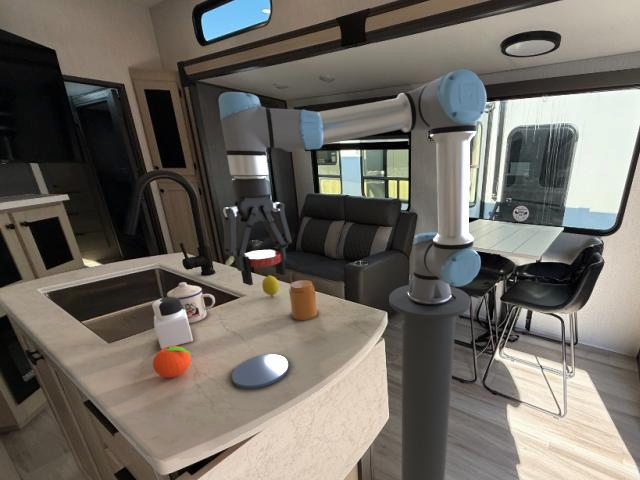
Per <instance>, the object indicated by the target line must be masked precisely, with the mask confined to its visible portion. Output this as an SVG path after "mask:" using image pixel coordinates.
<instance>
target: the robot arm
mask: <svg viewBox="0 0 640 480" xmlns="http://www.w3.org/2000/svg"><path fill="white" fill-rule="evenodd" d="M218 107H219V115H220V118H219V119H220V123H221V131H222V134H223V135H222V136H223V141H224V147H225V151H226V158H227V163H228V170H229V174H230V176H231V177H233V178H232V179H231V181H230V182H231V188H232V193H233V197H234V204H233V206H229V207H221V209H220V212H221V214H222V217H223V226H224V227H223V239H224V240H223V241H224V242H223V248H224V249H223V251H224V254H225V255H227V256H230V257H234V259H235V264H236V269H237V271H239V272H240V273H241V278H242V283H243V284H245V285H248V286H252V285H254V282H253V274H252V269H251V268H252V267H250V262H249V257H248V256H245V254H246V253H247V252H246V251H247V247H248V243H249V239H250V235H251V230H252V228H253V227H254V225H255V223H258V222H261V223H262V224H263V226H264V227H265V229H266V231H267V233H268V235H269V236H270V238H271V240H272V241H273V244H274V245H275V246H274V247H272V250H276V251H279V252H280V255H281V262H280V263H278V264H275V265H274V266H275V273H276V274H278V275H281V276H285V275H286V273H287V272H286V266H285V265H286V264H285V261H286V260H287V253H286V249H288V246H289V245H290V244H292V243H293V241H292V236H291V233H290V229H289V226H288V222H287V218H286V213H285V203H283V202H277V201H275V202H273V200H272V198H271V196H272V187H271V186H272V185H271V180H270V179H269V178H268V176H269V175H270V170H269V164H268V157H267V152H266V151H267V149H266V148H268V149H269V148H270V149H281V150H283V151H284V152H289V153H293V152H297V151H299V150H308V151H309V150H319V149H321V148H322V147H323V146H324V145H328V144H334V143H338V142H343V141H349V140H355V139H358V138H363V137H369V136H374V135H378V134H379V135H380V134H385V133H390V132H394V131H399V130H401V131H402V132H403V133H410V132H414V131H415V132H416V131H429V133H430V134H429V136H430V138H431V140H433V141H434V142H435V146H436V148H435V149H436V152H435V153H436V198H437V199H436V200H437V202H436V203H437V231H433V232H432V231H431V232H420V233H417V234H415V236H414V237H413V245H412V246H413V273H412V274H413V276H412V279H411V282H410V284H409V285H410V288H409V290H408V299H409V300H410V301H411V302H413V303H416V304H419V305H424V306H439V305H444V304H446V303H448V302H450V301H451V296H452V297H453V298H454V299H456V296H454V295H453V294H452V293H451V289H450V286H452V287H456V288H457V287H464V286H466V285H468V284H470V283H472V281H473V280H474V279H475V278H476V277H477V276H478V274H479V272H480V270H481V263H482V260H481V255H479V254H478V252H477V251H476V250H475V249H474V237H473V236H472V234H470V233H469V210H470V207H469V206H470V205H469V204H470V161H471V160H470V157H471V156H470V154H471V150H470V149H471V140H472V138H473V137H474V136H476V134H477V122H478V121H479V120H480V119H481V117H482V115H484V112H485V110H486V107H487V91H486V88H485V85H484V83H483V81H482V79H480V78H479V77H478V75H477V74H476V73H475V72H474V71H472V70H469V69H465V68H460V69H456V70H453V71H448V72H446V73H445V74H444V75H441V76H440V77H438V78H436V79H434V80H432V81H429V82H427V83H425V84H424V85H422V86H419V87H418V88H415V89H413V90H410V91H407V92H401V93H398V95H397V96H396V98H392V99H386V100H380V101H375V102H369V103H368V102H367V103H363V104H356V105H351V106H345V107H340V108H333V109H328V110H321V111H314V110H306V109H291V108H290V109H289V108H287V109H286V108H272V107H271V108H269V107H265V106H262V104H261V101H260V99H259V97H258V96H257V95H255V94H252V93H245V92H241V91H239V92H238V91H225V92H223V93H220V95H219V97H218ZM271 212H273V215H272V214H271ZM238 215H240V217H239V221H238V224H239V226H238V231H237V217H238ZM273 216H274V218H273Z"/></svg>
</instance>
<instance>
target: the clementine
mask: <svg viewBox="0 0 640 480" xmlns="http://www.w3.org/2000/svg"><path fill="white" fill-rule="evenodd" d="M191 356H192V353H191V352H190V351H189V350H188V349H186V348H184V347H181V346H180V345H176V346H169V347H166V348H164V349H160V350H159V351H158V352H157V353H156V354H155V356H154V357H153V360H152V367H153V370H154V371H155V373H156V374H157V375H158V376H160V377H163V378H176V377H179V376H181V375H182V374H184V373H185V372H186V371H187V370H188V369H189V368H190V365H191V362H192V361H191Z"/></svg>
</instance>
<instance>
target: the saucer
mask: <svg viewBox="0 0 640 480" xmlns="http://www.w3.org/2000/svg"><path fill="white" fill-rule="evenodd" d="M288 371H289V361H288V360H287V358H286V357H284V356H282V355H279V354H271V353H269V354H261V355H257V356H253V357H251V358H248V359H246V360H245V361H242V362H241V363H239V364H238V365H237V366H236V367H235V368H234V369H233V370H232V375H231V379H232V382H233V384H234V385H235V386H237V387H239V388H242V389H248V390H249V389H253V390H254V389H260V388H264V387H267V386H270V385H272V384H275V383H277V382H278V381H280V380H281V379H282V378H284V377H285V375H286V374H287V373H288Z"/></svg>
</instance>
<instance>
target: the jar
mask: <svg viewBox="0 0 640 480" xmlns="http://www.w3.org/2000/svg"><path fill="white" fill-rule="evenodd" d="M289 287H290V288H288V292H289V302H290V309H291V315H292V318H293V319H295V320H298V321H306V320H310V319H313V318H315V317H316V316H317V315H318V309H317V298H316V289H315V286H314V283H313V281H311V280H308V279H307V280H306V279H301V280H296V281H293V282H291V283H290V284H289Z"/></svg>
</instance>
